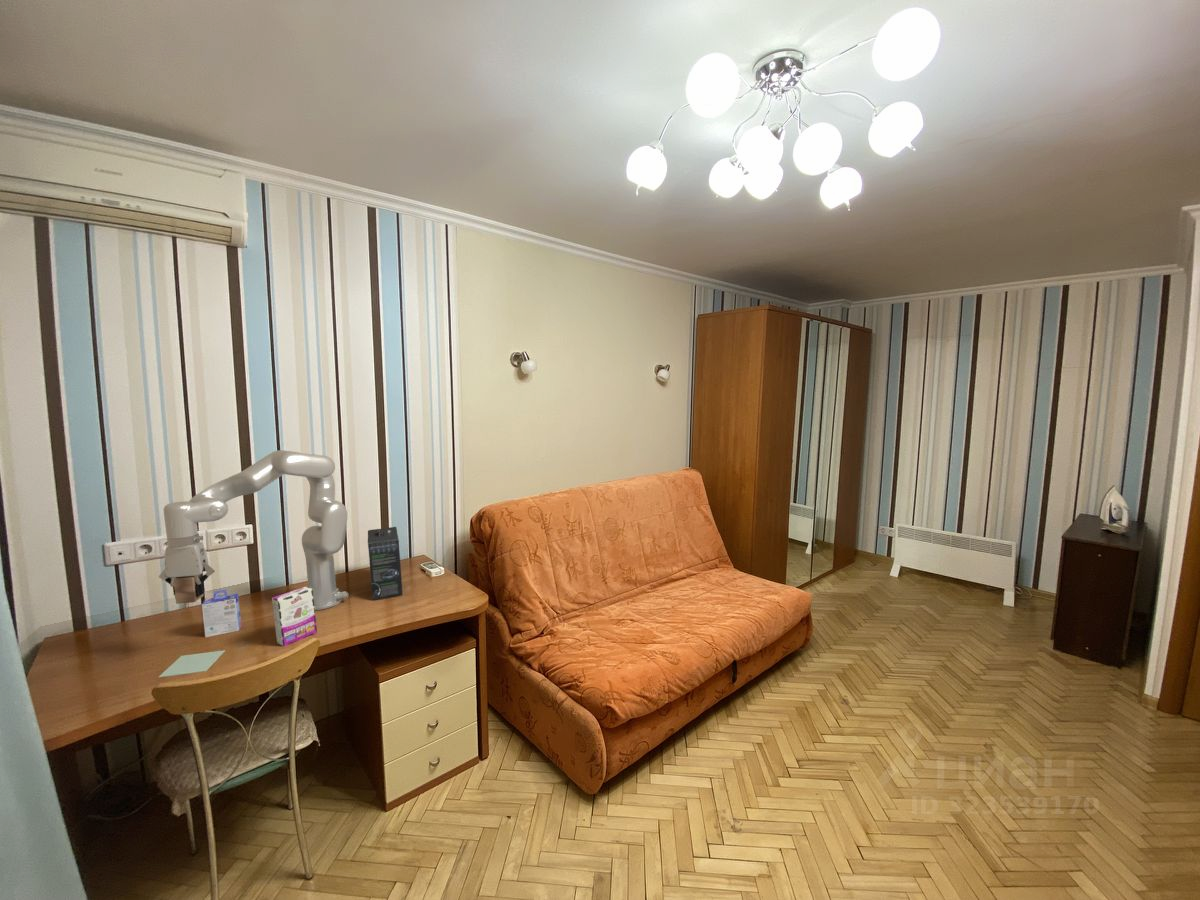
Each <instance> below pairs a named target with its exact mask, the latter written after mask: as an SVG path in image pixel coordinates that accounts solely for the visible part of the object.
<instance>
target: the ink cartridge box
mask: <svg viewBox="0 0 1200 900" xmlns="http://www.w3.org/2000/svg"><path fill="white" fill-rule="evenodd" d="M220 593H224V594H220ZM240 608H241V607H240V599H239V593H238V592H237V593H232V594H227V589H223V590H222V589H221V590H216V591H213V597H211V598H206V599H204V600H203V602H202V603H201V611H202V612H201V613H202V621H203V630H204V638H210V637H214V636H218V635H223V634H229V633H232V632H233V633H235V632H238V631H240V629H241V627H242V619H241V618H242V616H241V609H240Z"/></svg>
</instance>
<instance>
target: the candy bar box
mask: <svg viewBox="0 0 1200 900" xmlns="http://www.w3.org/2000/svg"><path fill="white" fill-rule="evenodd" d="M271 603H272V611H273V618H274V619H273V620H274V626H275V637H276V643H277V644H279V645H280V646H282V647H286V646H288V645H289V646H290V645H291V644H293V643H296V642H298V641H301V640H302V639H303V640H304V639H306V638H308V637H310V636H313V635H315V634H318V630H317V628H318V627H317V620H316V619H317V618H316V612H315V611H316V610H315V609H314V599H313V590H312V588H309V587H308V585H307V586H302V587H300V588H295V589H293V590H290V591H288V592H284V593H282V594H279V595H275V596H273V597H271Z"/></svg>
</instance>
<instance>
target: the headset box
mask: <svg viewBox="0 0 1200 900" xmlns="http://www.w3.org/2000/svg"><path fill="white" fill-rule="evenodd" d="M367 549H368V556H369V557H368V559H369V560H368V561H369V571H370V584H371V585H370V587H371V600H372V601H375V600H376V601H377V600H382V599H387V598H388V599H389V598H394V597H399V596H403V582H402V579H403V577H402V566H401V565H402V564H401V555H400V554H401V553H400V551H401V550H400V540H399V535H398V529H397V526H391V527H385V528H384V527H383V528H377V529H369V530H367Z"/></svg>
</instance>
